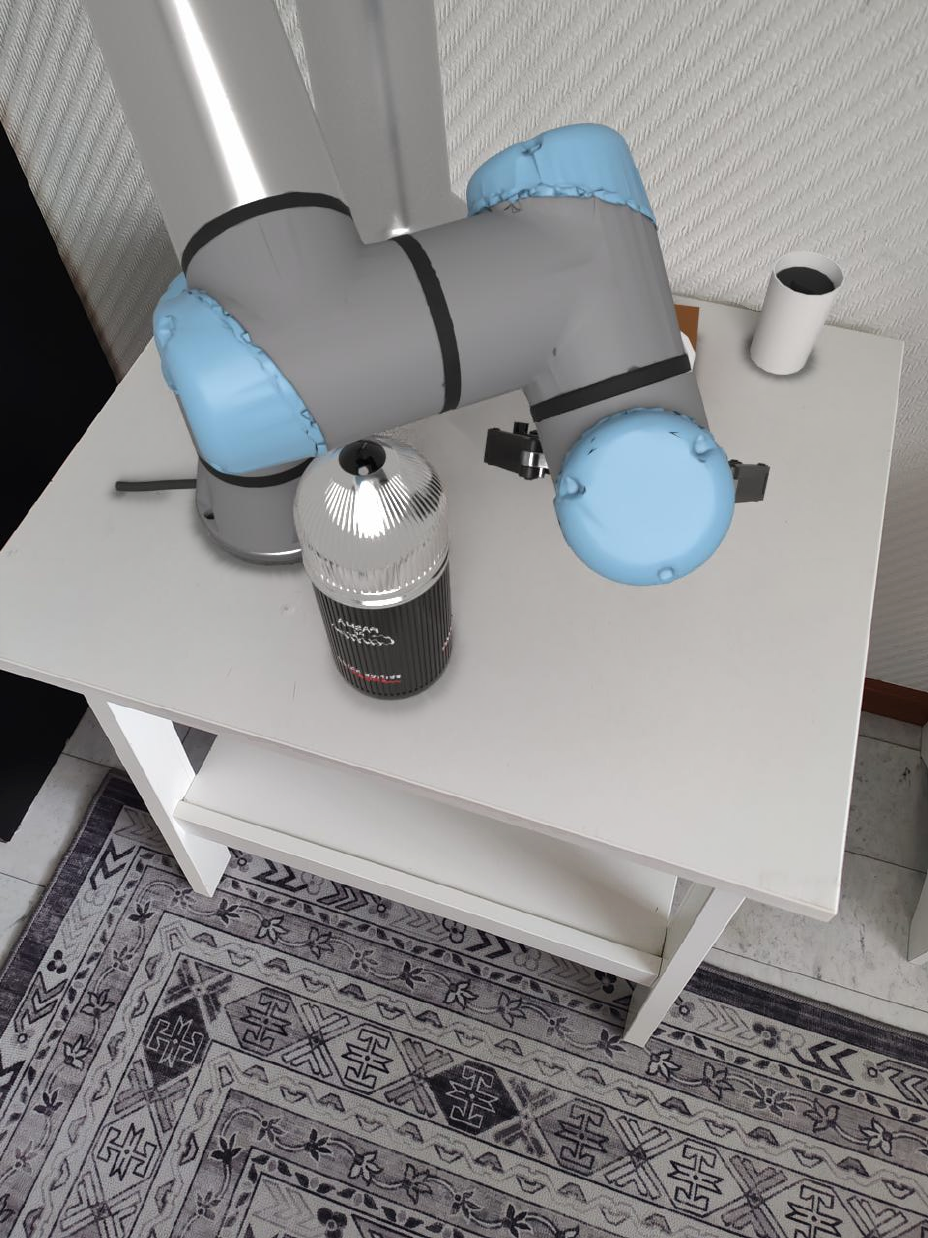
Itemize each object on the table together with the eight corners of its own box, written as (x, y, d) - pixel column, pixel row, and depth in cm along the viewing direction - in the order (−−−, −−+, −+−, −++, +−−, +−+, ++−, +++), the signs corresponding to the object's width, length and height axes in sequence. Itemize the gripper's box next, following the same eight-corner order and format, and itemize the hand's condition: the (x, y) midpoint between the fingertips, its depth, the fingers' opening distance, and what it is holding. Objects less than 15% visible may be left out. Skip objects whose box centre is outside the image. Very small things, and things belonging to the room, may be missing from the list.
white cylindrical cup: (809, 382, 90) (844, 301, 81) (743, 372, 91) (770, 290, 82) (811, 338, 93) (845, 255, 85) (747, 328, 94) (774, 246, 86)
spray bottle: (440, 718, 71) (425, 530, 49) (317, 696, 72) (251, 502, 51) (466, 611, 76) (462, 399, 55) (351, 592, 77) (303, 376, 56)
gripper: (412, 511, 53) (463, 483, 74) (838, 574, 51) (768, 526, 71) (427, 383, 51) (474, 390, 72) (870, 441, 49) (788, 432, 69)
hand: (620, 458), depth 71 cm, fingers open, 13 cm apart
